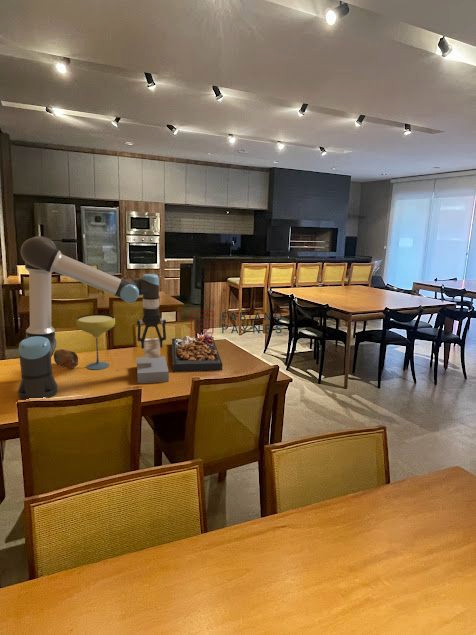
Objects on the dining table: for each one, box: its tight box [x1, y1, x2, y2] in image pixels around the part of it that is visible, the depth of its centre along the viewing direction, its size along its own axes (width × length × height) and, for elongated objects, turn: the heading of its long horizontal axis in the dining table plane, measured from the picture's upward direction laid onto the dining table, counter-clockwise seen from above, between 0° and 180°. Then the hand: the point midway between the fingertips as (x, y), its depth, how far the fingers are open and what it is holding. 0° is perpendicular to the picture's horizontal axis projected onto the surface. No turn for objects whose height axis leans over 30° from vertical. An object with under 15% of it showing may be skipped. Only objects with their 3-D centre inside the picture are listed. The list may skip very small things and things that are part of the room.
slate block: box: [136, 355, 170, 384], centre depth 202 cm, size 14×22×5 cm, turn 14°
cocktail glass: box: [75, 313, 116, 371], centre depth 207 cm, size 18×18×25 cm
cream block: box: [144, 337, 160, 358], centre depth 200 cm, size 6×6×8 cm
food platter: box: [171, 332, 223, 373], centre depth 229 cm, size 45×25×10 cm, turn 10°
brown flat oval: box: [53, 348, 79, 370], centre depth 208 cm, size 15×3×8 cm, turn 62°
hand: (152, 354), depth 200 cm, fingers closed on cream block, 6 cm apart
